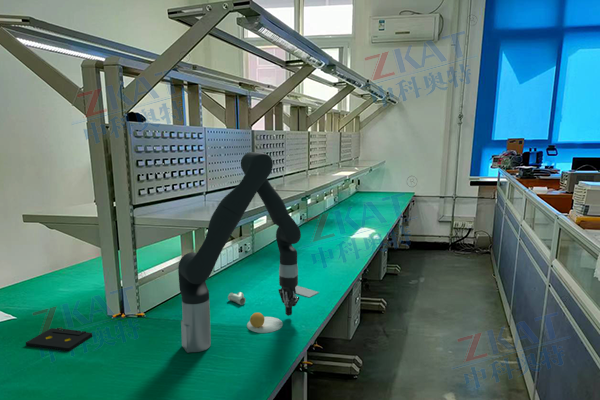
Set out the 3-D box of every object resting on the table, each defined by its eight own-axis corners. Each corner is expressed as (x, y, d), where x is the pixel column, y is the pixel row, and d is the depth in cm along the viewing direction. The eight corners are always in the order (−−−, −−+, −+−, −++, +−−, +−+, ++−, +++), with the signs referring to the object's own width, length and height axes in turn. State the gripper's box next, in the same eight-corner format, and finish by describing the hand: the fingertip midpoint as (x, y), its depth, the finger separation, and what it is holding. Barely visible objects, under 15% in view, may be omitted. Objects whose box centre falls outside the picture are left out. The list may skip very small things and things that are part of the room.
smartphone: (309, 297, 189) (284, 289, 198) (309, 299, 189) (284, 291, 198) (319, 292, 195) (295, 284, 204) (319, 294, 195) (295, 286, 204)
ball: (251, 328, 155) (257, 314, 155) (245, 322, 159) (250, 309, 160) (263, 331, 158) (269, 317, 158) (257, 325, 162) (262, 312, 163)
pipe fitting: (239, 298, 190) (227, 301, 185) (239, 290, 190) (228, 293, 184) (250, 302, 185) (239, 306, 180) (251, 294, 184) (239, 297, 179)
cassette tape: (92, 337, 152) (92, 332, 151) (69, 353, 140) (68, 347, 140) (51, 332, 155) (51, 327, 155) (25, 347, 144) (25, 341, 144)
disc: (257, 336, 151) (257, 335, 151) (241, 322, 163) (241, 322, 163) (289, 327, 159) (289, 326, 159) (271, 314, 171) (271, 314, 170)
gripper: (272, 271, 168) (272, 311, 170) (289, 280, 157) (289, 323, 159) (287, 268, 172) (288, 307, 174) (305, 276, 161) (305, 318, 163)
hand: (288, 314), depth 167 cm, fingers closed
